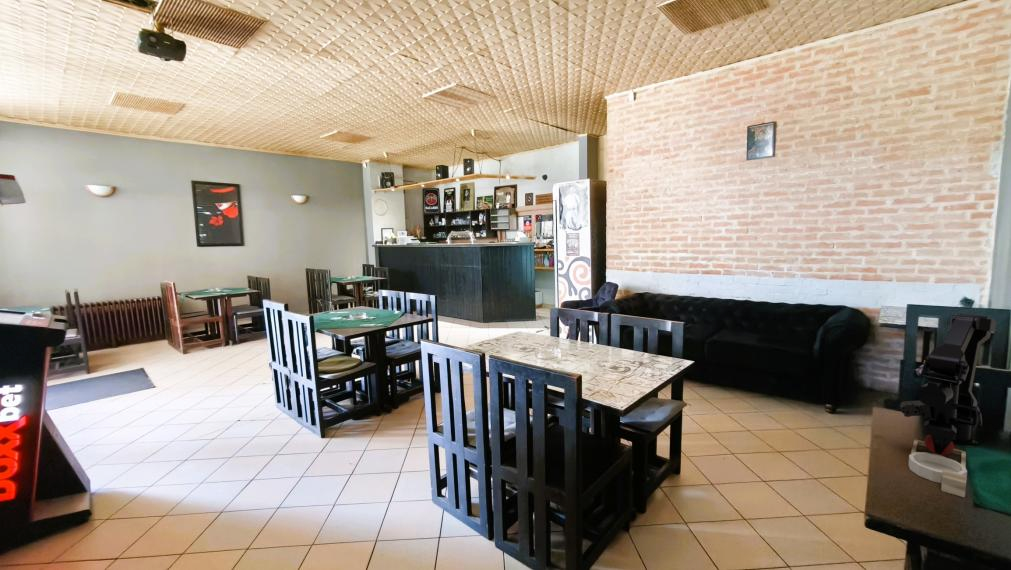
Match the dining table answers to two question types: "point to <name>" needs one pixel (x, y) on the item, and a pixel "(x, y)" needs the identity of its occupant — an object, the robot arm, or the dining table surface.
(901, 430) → the dining table surface
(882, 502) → the dining table surface
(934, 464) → the bowl
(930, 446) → the onion
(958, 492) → the maple block
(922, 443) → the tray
